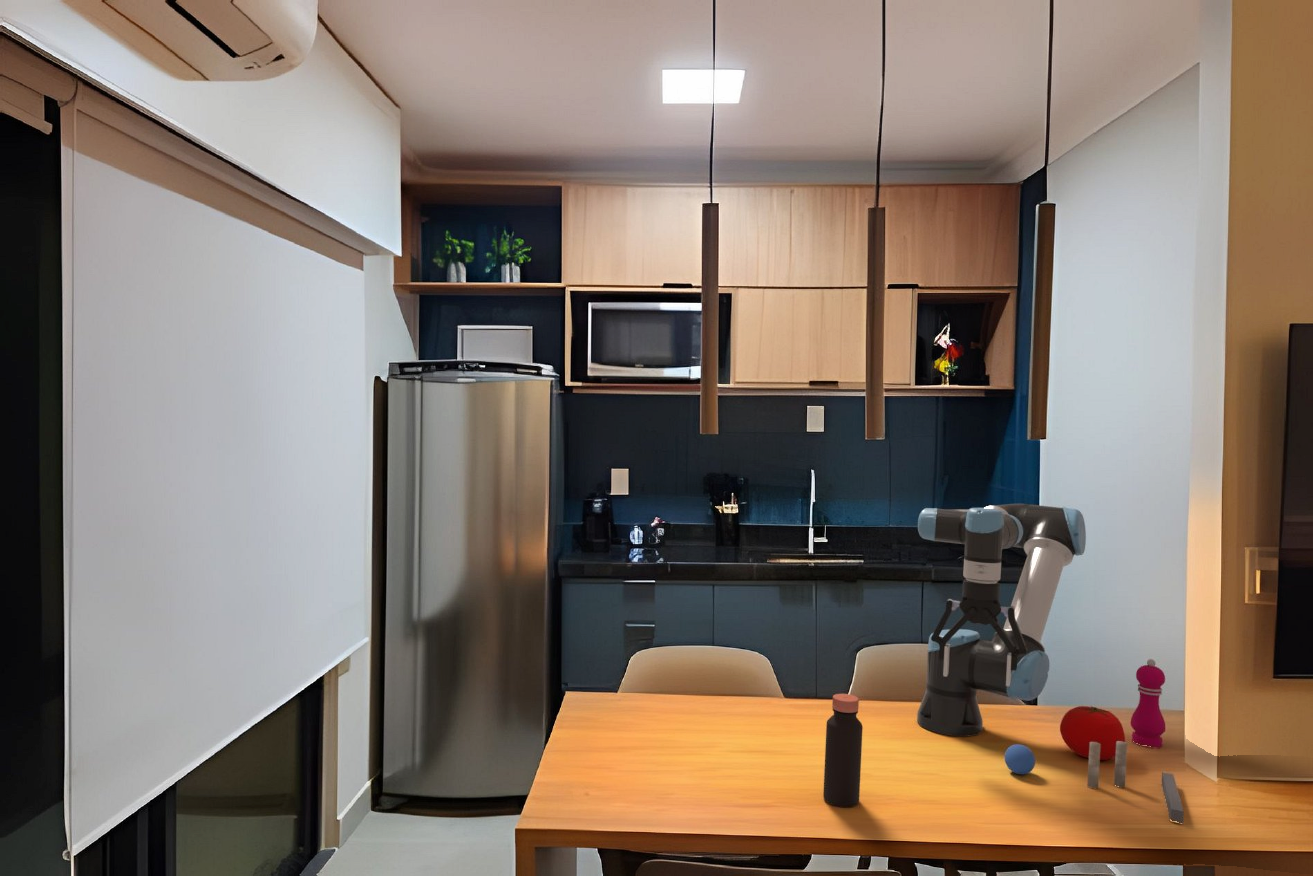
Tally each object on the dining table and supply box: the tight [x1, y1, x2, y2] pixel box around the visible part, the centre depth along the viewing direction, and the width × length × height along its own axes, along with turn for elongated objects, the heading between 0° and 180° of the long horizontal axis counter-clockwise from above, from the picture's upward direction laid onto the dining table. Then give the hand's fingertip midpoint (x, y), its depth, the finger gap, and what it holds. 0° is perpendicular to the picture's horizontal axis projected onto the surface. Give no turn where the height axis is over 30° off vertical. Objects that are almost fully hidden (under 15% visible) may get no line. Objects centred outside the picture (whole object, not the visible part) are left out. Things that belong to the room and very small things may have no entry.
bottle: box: [822, 693, 864, 808], centre depth 169 cm, size 7×7×20 cm
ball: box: [1004, 744, 1036, 776], centre depth 186 cm, size 6×6×6 cm
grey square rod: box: [1160, 771, 1185, 824], centre depth 174 cm, size 2×20×2 cm, turn 154°
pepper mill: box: [1130, 658, 1166, 748], centre depth 207 cm, size 7×7×20 cm
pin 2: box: [1113, 741, 1128, 788], centre depth 182 cm, size 2×2×9 cm
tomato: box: [1059, 705, 1126, 761], centre depth 198 cm, size 12×13×11 cm
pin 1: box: [1086, 742, 1101, 789], centre depth 181 cm, size 2×2×9 cm
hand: (976, 679), depth 190 cm, fingers open, 12 cm apart
